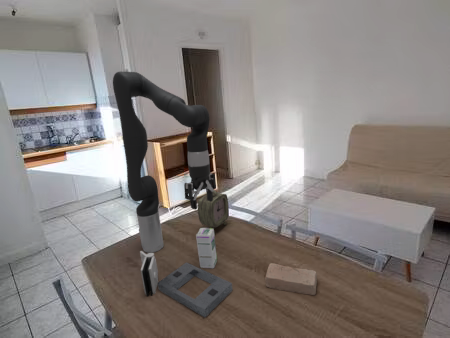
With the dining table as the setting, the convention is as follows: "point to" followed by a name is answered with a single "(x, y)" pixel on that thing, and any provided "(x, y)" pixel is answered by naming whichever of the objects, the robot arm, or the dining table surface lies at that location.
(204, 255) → the syrup box
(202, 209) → the tabletop clock
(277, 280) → the brick
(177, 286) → the rail plate
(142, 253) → the hinge
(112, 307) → the dining table surface
